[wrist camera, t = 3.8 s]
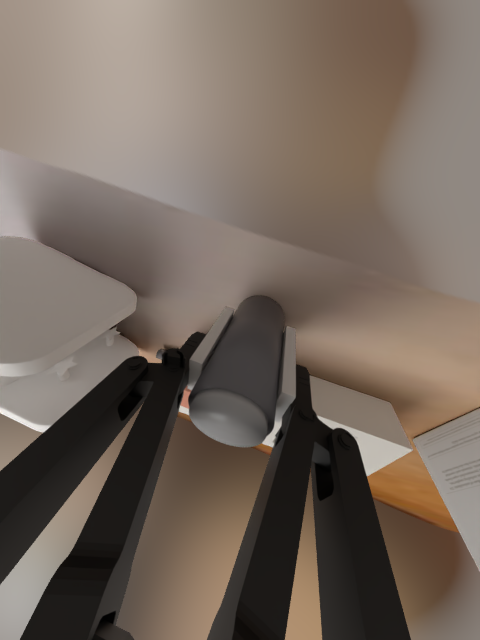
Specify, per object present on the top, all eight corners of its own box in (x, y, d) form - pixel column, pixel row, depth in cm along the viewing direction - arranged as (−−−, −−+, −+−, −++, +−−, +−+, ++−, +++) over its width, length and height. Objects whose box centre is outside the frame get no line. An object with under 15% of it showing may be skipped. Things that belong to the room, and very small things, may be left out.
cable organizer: (156, 295, 20) (24, 380, 10) (147, 356, 26) (59, 447, 16) (29, 230, 20) (-229, 255, 10) (49, 308, 25) (-99, 370, 16)
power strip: (163, 369, 26) (138, 401, 22) (161, 324, 22) (129, 353, 17) (349, 437, 24) (360, 487, 19) (390, 402, 19) (417, 458, 15)
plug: (230, 300, 18) (168, 391, 9) (279, 291, 16) (260, 393, 7) (243, 339, 20) (203, 444, 11) (288, 335, 18) (281, 455, 9)
